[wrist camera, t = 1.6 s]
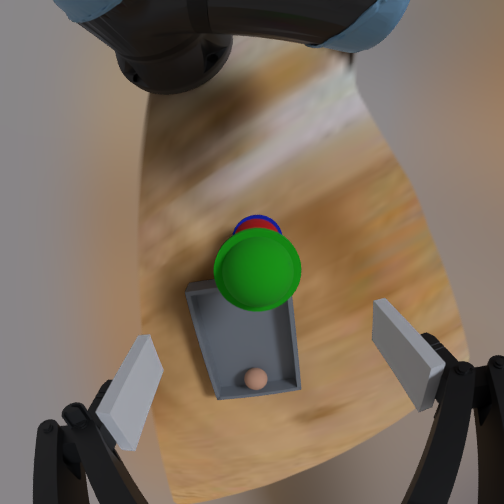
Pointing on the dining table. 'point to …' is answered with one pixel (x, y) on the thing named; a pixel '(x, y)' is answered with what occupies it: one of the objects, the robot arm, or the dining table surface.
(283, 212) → the dining table surface
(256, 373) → the ball
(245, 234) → the toy
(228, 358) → the tray
